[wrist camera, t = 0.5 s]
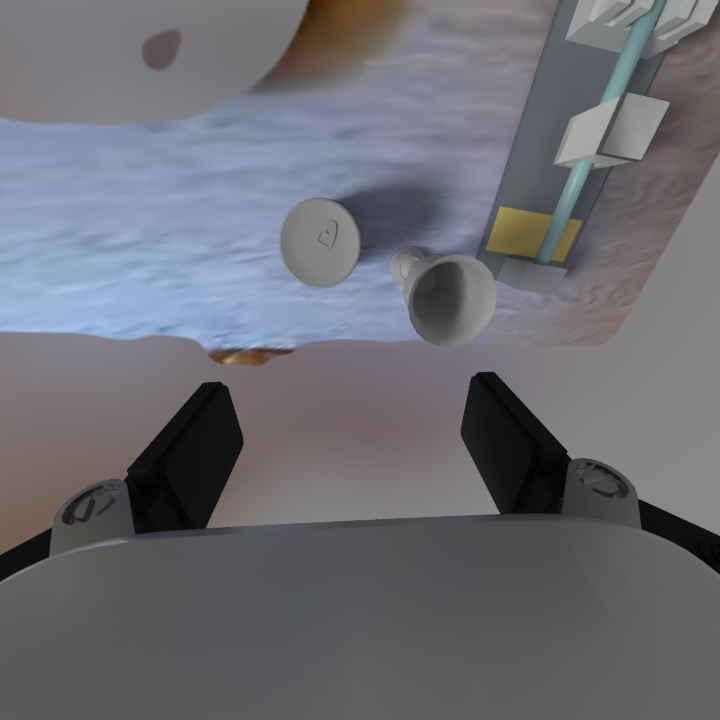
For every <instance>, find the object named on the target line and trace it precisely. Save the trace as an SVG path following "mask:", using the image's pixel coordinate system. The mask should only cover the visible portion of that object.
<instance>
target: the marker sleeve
mask: <svg viewBox="0 0 720 720" xmlns="http://www.w3.org/2000/svg"><path fill="white" fill-rule="evenodd" d="M670 103H671V101H667V100H663V99H658V98H654V97H649V96H645V95H641V94H636V93H632V92H626V93H623V94H621V96H619V97H617V98H614V99H612V100H610V101H608V102H605V103H603V104H601V105H599V106H596V107H594V108H592V109H590V110H587V111H585V112H583V113H581V114H578V115H576V116H574V117H572V118H571V119H570V121H569V124H568V126H567V129H566V131H565V134H564V137H563V139H562V142H561V144H560V147H559V150H558V152H557V155H556V157H555V160H554V163H553V165H557V166H562V167H567V168H573V166H574V163H575V162H578V161H586V162H591V163H593V164H592V167H591V169H590V170H593V169H599V168H604V167H609V166H614V165H619V164H624V163H629V162H639V161H642V159H643V157H644V155H645V153H646V151H647V149H648V147H649V145H650V143H651V141H652V139H653V137H654V135H655V133H656V131H657V129H658V127H659V125H660V123H661V121H662V119H663V117H664V115H665V113H666V111H667V109H668V107H669V105H670Z"/></svg>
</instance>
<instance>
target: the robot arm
mask: <svg viewBox="0 0 720 720" xmlns="http://www.w3.org/2000/svg"><path fill="white" fill-rule="evenodd" d="M461 436H462V439H463V441H464V443H465V445H466V447H467V449H468V451H469V453H470V455H471V457H472V459H473V461H474V463H475V465H476V467H477V469H478V471H479V473H480V474H481V476H482V479H483V481H484V482H485V484H486V486H487V488H488V490H489V492H490V494H491V496H492V498H493V500H494V502H495V504H496V506H497V508H498V510H499V512H500V514H495V515H469V516H468V515H466V516H443V517H421V518H398V519H376V520H355V521H334V522H314V523H296V524H295V523H294V524H276V525H257V526H239V527H221V528H206V526H207V524H208V522H209V519H210V517H211V515H212V513H213V511H214V509H215V506H216V504H217V502H218V500H219V498H220V495H221V493H222V491H223V489H224V487H225V485H226V482H227V480H228V478H229V476H230V474H231V472H232V469H233V467H234V465H235V463H236V461H237V459H238V456H239V454H240V452H241V450H242V447H243V442H244V441H243V436H242V432H241V429H240V426H239V422H238V419H237V416H236V413H235V409H234V406H233V403H232V399H231V396H230V393H229V390H228V387H227V386H225V385H223V384H222V383H221V382H205V383H203V384H202V385H201V386H200V387H199V388H198V389H197V390H196V392H195V393H194V394H193V395H192V396H191V397H190V398H189V400H188V401H187V402H186V403H185V404H184V405H183V407H182V408H181V409H180V410H179V411H178V412H177V413H176V415H175V416H174V417H173V418H172V419H171V420H170V421H169V423H168V424H167V425H166V426H165V427H164V428H163V429H162V431H161V432H160V433H159V434H158V435H157V436H156V437H155V439H154V440H153V441H152V442H151V443H150V444H149V446H148V447H147V448H146V449H145V450H144V451H143V452H142V454H141V455H140V456H139V457H138V458H137V459H136V461H135V462H134V463H133V464H132V465H131V466H130V467H129V468H128V470H127V472H128V476H127V477H126V478H125V479H124V480H123V481H122V480H120V479H109V480H104V481H101V482H98V483H95V484H93V485H90V486H89V487H87V488H85V489H83V490H81V491H80V492H78V493H77V494H75V495H74V496H73V497H71V498H70V499H69V500H68V501H67V502H66V503H64V504H63V505H62V506H61V508H60V509H59V510H58V512H57V513H56V515H55V518H54V520H53V525H52V528H50V529H48V530H46V531H45V532H43V533H41V534H39V535H37V536H35V537H33V538H31V539H30V540H28V541H26V542H24V543H22V544H20V545H18V546H16V547H15V548H13V549H11V550H9V551H7V552H5V553H3V554H1V555H0V720H720V536H719V535H717V534H714V533H712V532H710V531H708V530H705V529H703V528H701V527H699V526H697V525H695V524H693V523H690V522H688V521H686V520H683V519H682V518H679V517H677V516H675V515H673V514H671V513H668V512H666V511H664V510H662V509H660V508H657V507H655V506H653V505H651V504H649V503H646V502H644V501H642V500H640V499H638V497H637V492H636V490H635V487H634V486H633V485H632V483H631V482H630V481H629V480H628V479H627V478H626V477H625V476H624V475H622V474H621V473H620V472H618V471H617V470H615V469H614V468H612V467H611V466H608V465H606V464H604V463H602V462H599V461H596V460H592V459H585V458H579V459H574V460H572V459H571V458H570V457H569V456H568V455H567V452H568V451H567V450H566V449H565V448H564V447H563V446H562V445H561V444H560V443H559V441H558V440H557V439H556V438H555V437H554V436H553V435H552V434H551V433H550V432H549V431H548V429H547V428H546V427H545V426H544V425H543V424H542V423H541V422H540V421H539V420H538V419H537V418H536V417H535V415H534V414H533V413H532V412H531V411H530V410H529V409H528V408H527V407H526V406H525V405H524V404H523V403H522V401H521V400H520V399H519V398H518V397H517V396H516V395H515V394H514V393H513V392H512V391H511V390H510V388H508V386H507V385H506V384H505V383H504V382H503V381H502V380H501V379H500V378H499V377H498V376H497V375H496V373H494V372H478V373H477V374H476V375H475V376H473V377H472V378H471V381H470V386H469V391H468V396H467V401H466V406H465V411H464V416H463V421H462V426H461Z"/></svg>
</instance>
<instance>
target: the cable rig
mask: <svg viewBox="0 0 720 720" xmlns="http://www.w3.org/2000/svg"><path fill="white" fill-rule="evenodd" d="M718 1H719V0H559V2H558V5H557V8H556V11H555V14H554V17H553V21H552V24H551V27H550V30H549V33H548V36H547V39H546V42H545V45H544V49H543V52H542V55H541V58H540V61H539V64H538V67H537V70H536V74H535V77H534V80H533V83H532V86H531V89H530V92H529V95H528V98H527V102H526V105H525V108H524V111H523V114H522V117H521V120H520V123H519V126H518V130H517V133H516V136H515V139H514V142H513V145H512V148H511V151H510V155H509V158H508V161H507V164H506V167H505V170H504V173H503V176H502V179H501V183H500V186H499V189H498V192H497V195H496V198H495V201H494V204H493V208H492V211H491V214H490V217H489V220H488V223H487V226H486V229H485V232H484V236H483V239H482V242H481V245H480V248H479V251H478V254H477V257H476V259H477V260H479V261H481V262H483V264H484V265H485V266H486V267H487V268H488V269H489V271H490V272H491V273H492V276H493V278H494V280H498V281H500V282H502V283H505V284H507V285H509V286H512V287H514V288H516V289H521V290H528V291H535V292H542V293H549V294H556V293H557V291H558V289H559V287H560V285H561V283H562V281H563V279H564V277H565V275H566V273H567V270H568V269H565V268H564V266H565V264H566V261H567V259H568V257H569V255H570V253H571V251H572V249H573V247H574V244H575V242H576V240H577V238H578V236H579V234H580V232H581V230H582V227H583V225H584V223H585V221H586V219H587V217H588V215H589V212H590V210H591V208H592V206H593V204H594V202H595V200H596V198H597V195H598V193H599V191H600V189H601V187H602V185H603V183H604V180H605V178H606V176H607V174H608V172H609V170H610V168H611V166H609V167H604V168H599V169H593V170H590V169H591V167H592V164H593V163H591V162H586V161H578V162H575V163H574V166H573V168H567V167H562V166H557V165H553V163H554V160H555V157H556V155H557V152H558V150H559V147H560V144H561V142H562V139H563V137H564V134H565V131H566V129H567V126H568V124H569V121H570V119H571V118H572V117H574V116H576V115H578V114H581V113H583V112H585V111H587V110H590V109H592V108H594V107H596V106H599V105H601V104H603V103H605V102H608V101H610V100H612V99H614V98H617V97H619V96H621V94H623V93H626V92H632V93H636V94H641V95H645V93H646V91H647V89H648V87H649V85H650V82H651V80H652V78H653V76H654V74H655V72H656V70H657V68H658V65H659V63H660V61H661V59H662V57H663V55H664V53H665V50H666V49H668V48H669V47H671V46H673V45H675V44H677V43H678V41H679V39H681V38H683V37H684V36H686V35H688V34H690V33H692V32H694V31H696V30H697V29H699V28H701V27H703V26H705V25H707V23H708V21H709V19H710V17H711V15H712V13H713V11H714V9H715V7H716V5H717V3H718Z"/></svg>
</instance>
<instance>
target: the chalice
mask: <svg viewBox="0 0 720 720" xmlns="http://www.w3.org/2000/svg"><path fill="white" fill-rule="evenodd" d="M389 270H390V275H391V276H392V278H393V280H395V281H396V282H397V283H399V284H401V285H404V298H405V302H406V304H407V306H408V310H409V315H410V320H411V323H412V325H413V326H414V328H415V330H416V332H417V333H418V334H419V335H420V336H421V337H422V338H423V339H425V340H426V341H428V342H430V343H433V344H435V345H437V346H448V347H451V346H455V345H460V344H464V343H465V342H467V341H469V340H471V339H473V338H474V337H476V336H477V335H478V334H479V333H480V332H481V331H482V330H483V329H484V328H485V327H486V326H487V324H488V322H489V321H490V319H491V317H492V315H493V313H494V309H495V305H496V302H497V289H496V284H495V281H494V278H493V276H492V273H491V272H490V271H489V269H488V268H487V267H486V266H485V265H484V264H483V262H481V261H479V260H477V259H475V258H473V257H471V256H467V255H458V254H454V255H450V256H447V255H441V254H434V255H430V256H426V257H424V254H423V253H422V252H421V251H420V250H419V249H417V248H415V247H410V246H407V247H403V248H401V249H399V250H398V251H396V252H395V254H394V255H393V256H392V258H391V260H390V265H389Z"/></svg>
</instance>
